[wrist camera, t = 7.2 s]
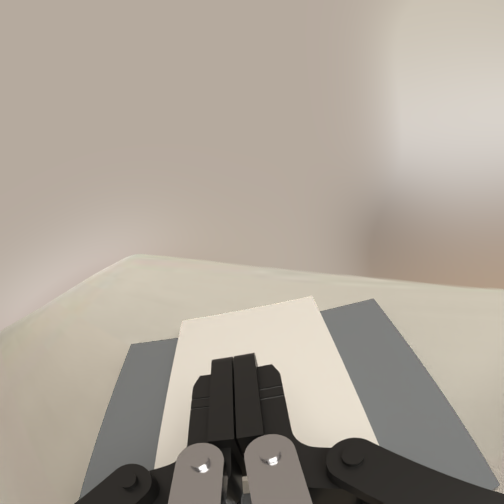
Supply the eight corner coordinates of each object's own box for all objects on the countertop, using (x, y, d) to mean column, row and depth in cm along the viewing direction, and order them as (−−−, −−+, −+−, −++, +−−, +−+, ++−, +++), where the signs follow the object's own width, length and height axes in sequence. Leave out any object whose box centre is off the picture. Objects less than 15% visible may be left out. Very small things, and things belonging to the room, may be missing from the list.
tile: (151, 484, 11) (182, 320, 24) (164, 498, 11) (187, 336, 24) (381, 450, 11) (312, 295, 24) (377, 466, 11) (314, 312, 24)
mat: (76, 553, 8) (67, 548, 8) (134, 351, 25) (131, 344, 24) (493, 491, 8) (499, 484, 7) (373, 306, 24) (373, 298, 24)
